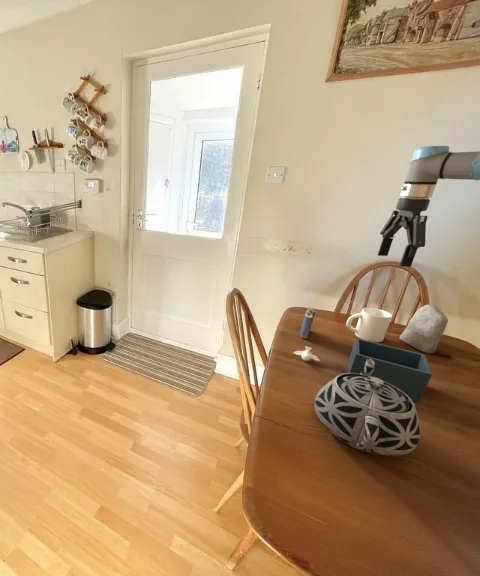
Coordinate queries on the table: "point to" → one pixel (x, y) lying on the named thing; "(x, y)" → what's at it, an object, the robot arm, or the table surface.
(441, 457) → the table surface
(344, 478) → the table surface
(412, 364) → the box
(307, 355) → the toy bird
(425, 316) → the decorative stone
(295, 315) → the table surface
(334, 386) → the teapot
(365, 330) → the mug
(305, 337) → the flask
